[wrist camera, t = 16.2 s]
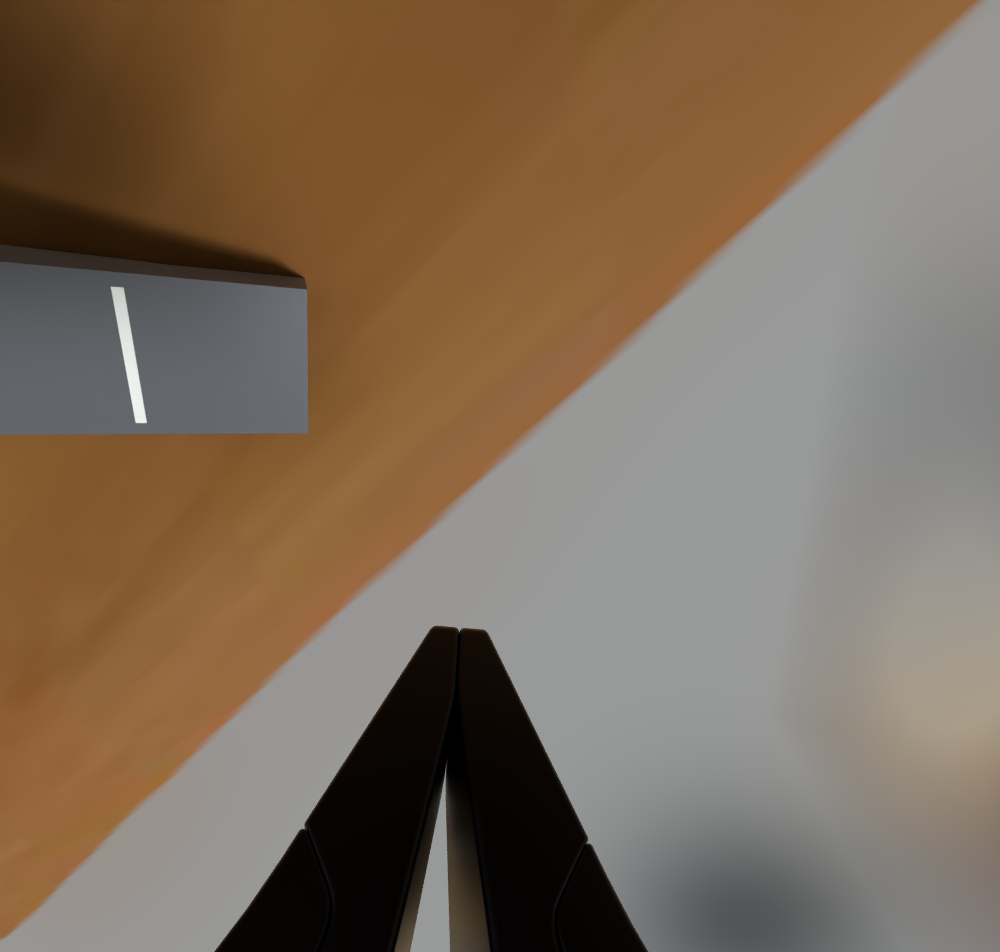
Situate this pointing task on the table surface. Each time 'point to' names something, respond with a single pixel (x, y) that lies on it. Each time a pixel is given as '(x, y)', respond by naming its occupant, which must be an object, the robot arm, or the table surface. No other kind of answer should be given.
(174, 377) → the domino
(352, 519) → the table surface
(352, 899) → the robot arm
